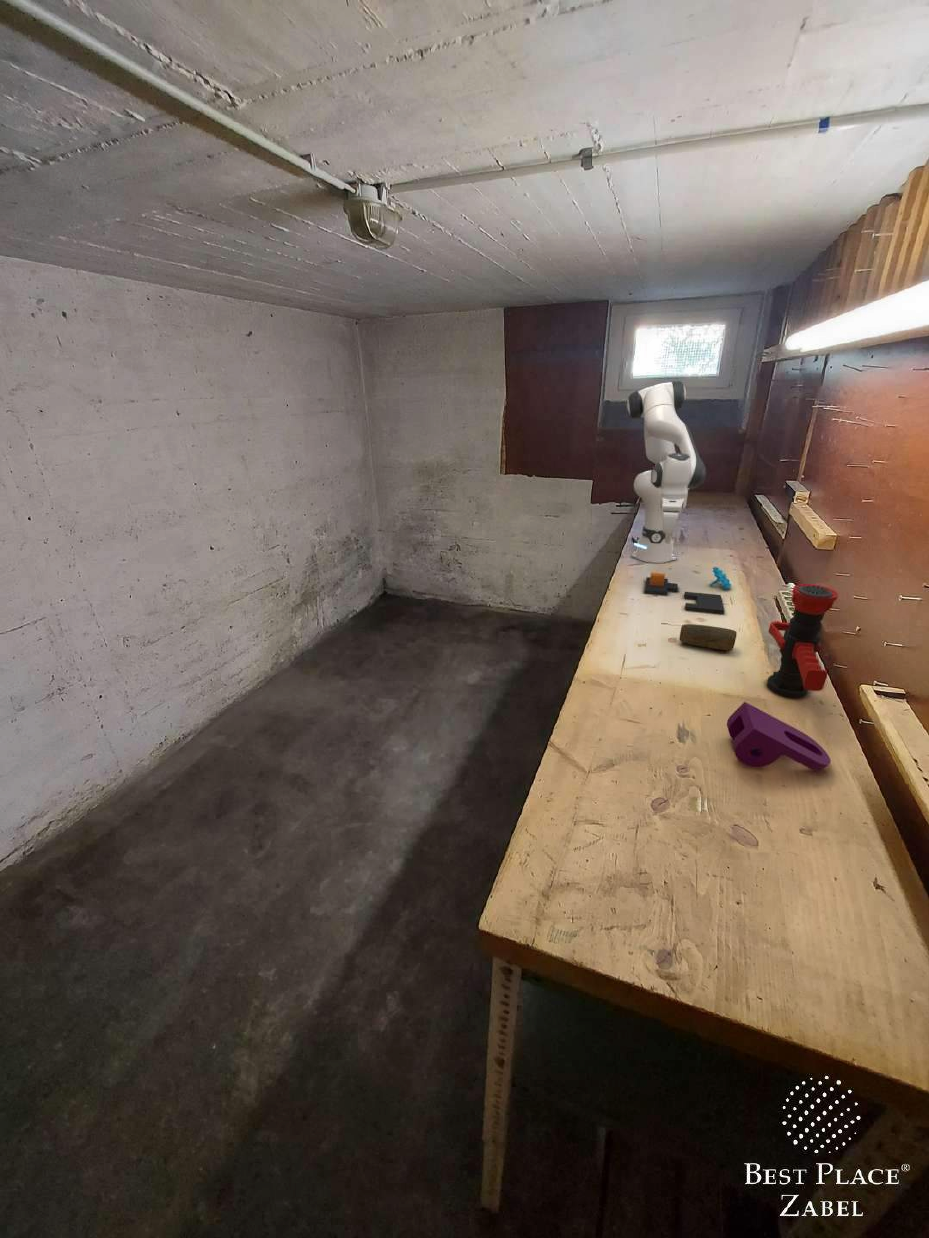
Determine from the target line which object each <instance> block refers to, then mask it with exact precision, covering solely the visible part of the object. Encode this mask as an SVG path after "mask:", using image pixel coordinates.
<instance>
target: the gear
mask: <svg viewBox="0 0 929 1238" xmlns="http://www.w3.org/2000/svg"><path fill="white" fill-rule="evenodd" d="M712 573H713V575H714V577H715V578H716V579H715V580H714V581H711V583H709V586H710V587H712V586H714V585H715V584H717V583H721V584H720V585H721V586H722V587H723V588H725V589H726V590H731V589H732V583H731V581H730V579H729V578H727V573H726V572H723V570H722V569H720V568H719V567H718V566H714V567H712Z"/></svg>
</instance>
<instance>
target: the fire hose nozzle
mask: <svg viewBox="0 0 929 1238" xmlns="http://www.w3.org/2000/svg"><path fill="white" fill-rule="evenodd" d="M791 592H792V596H791V602H792V604H793V606H794V609H793V613H792V614H793V616H792V617H791V618H790V620H789V622H784V621H780V620H775V621H771V622H770V623H769V627H768V631H767V632H768V633H769V635H770V636H771V637H772V638H773V639H774V641H775V643H776V644H777V646H778V648H779V653H780V655H781V657H780V666H779V669H778V670H777V671H773V673H772V674H771V675H769V676H768V678H767V682H766V688H767V689H768V690H769V691H771V692H772V694H773V693H774V694H776V695H778V696H779V697H783V698H787V699H802V698H803V699H804V698H805V697H806V696H807V694H808V691H813V692H820V691H823V690H824V687H825V683H826V681H827V677H828V672H827V670H826V669H822V666H821V665H820V661H819V659H818V657H817V653H820V652H821V650H822V644H821V638H820V636H819V634H820V632H821V631H822V627H823V623H822V622H821V621H823V619H824V617H825V614H826V613H827V612H828V611H830V610H831V609H832V608H833V605H834V603H835V602H836V601H837V600H838V596H839V593H838V592H837V591H836V590H835V589H832V588H830V587H828V586H824V585H820V584H813V583H812V584H811V583H800V584H797V585H796V584H795V585H794V586H793V588H792V591H791ZM781 631H784V633H783V634H782V633H781Z"/></svg>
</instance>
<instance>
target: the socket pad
mask: <svg viewBox="0 0 929 1238" xmlns="http://www.w3.org/2000/svg"><path fill="white" fill-rule="evenodd" d="M683 595H684V600H693V601H696V603H694V602H693V603H692V602H685V605H684V610H685V611H687V612H688V611H689V612H698V613H704V614H705V613H706V614H715V615H724V614H725V608H724V603H723V597H722V595H721V594H716V593H715V594H714V593H713V594H712V593H703V592H692V591H684V593H683Z"/></svg>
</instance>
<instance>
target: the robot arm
mask: <svg viewBox="0 0 929 1238" xmlns="http://www.w3.org/2000/svg"><path fill="white" fill-rule="evenodd" d="M686 398H687V390H686V387H685V385H684V383H683V382H682V381H681V380H672V381H671V382H662V383H657V384H654V385H652V386H649V387H645V388H643V389H641V390H635V391H633V392H631V393H630V394H629V396H628V399H627V401H626V410H627V412H628V415H629V416H630V417H631V418H632V419H634V420H635V419H641V418H643V421H644V422H643V438H644V448H645V455H646V458H647V460H649V462H652V463H653V464H655V465H654V466H653V467H652V468H651V469H649V470H646V471H643V472H641V473H638V474H637V475H636V476H635V479H634V481H633V490H634V493H635V494H636V495H637V496H638V497H640V499H641V501H642V502H643V504H644V511H645V512H644V513H645V514H644V515H645V516H644V525H643V527H642V529H641V531H642V532H641V535H640V536H637V537H636V539H635V537H634V536H631V540H632V541H633V545H634V546H636V549H635V550H634V551H633V552H632V553H631V558H634V559H638V560H639V561H642V562H645V563H652V564H653V563H654V564H661V563H667V562H670V561H671V562H672V561H676V560H677V557H676V555H675V554H674V552H673V551H674V540H673V539H672V537H673V534H675V530H676V526H677V523H678V520H679V515H680V514H681V513H682V510H683V509H685V508H687V503H688V502H687V501H688V496H689V490H690V489H691V490H695V489H697V488H698V487H699V486H701V485H702V484H703V483H704V481H705V480H706V478H707V477H706V476H707V468H706V465H705V464H704V462H703V460H702V458H701V457H700V454H699V452H698V448H697V446H696V443H695V441H694V438H693V436H692V432H691V430H690V427H689V426H688V425H687V424H686V423H685V422H683V421H682V420H681V418H680V417H679V416H678V414H677V411H678V410H679V409H681V408H682V407H683V406H684V404H685V401H686ZM675 445H676V446H677V447H678V448H679V451H680V452H677V451H676V448H675Z"/></svg>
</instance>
